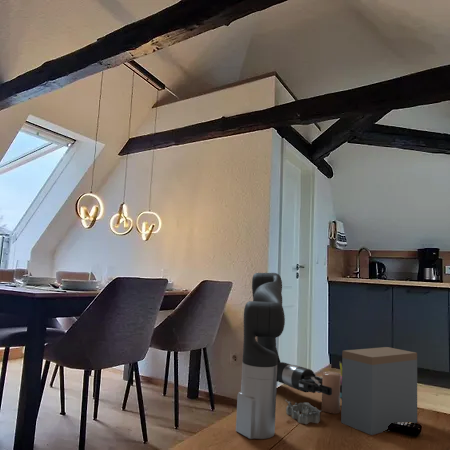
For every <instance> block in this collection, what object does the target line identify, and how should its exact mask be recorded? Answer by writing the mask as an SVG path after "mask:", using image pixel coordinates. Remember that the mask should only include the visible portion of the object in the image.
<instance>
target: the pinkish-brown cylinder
mask: <svg viewBox="0 0 450 450" xmlns="http://www.w3.org/2000/svg"><path fill="white" fill-rule="evenodd" d="M321 378H322V385H324V386H327V387H330V388H332V395H327V394H324V393H321V411H323V412H325V413H329V414H339V413H341V398H340V379H341V373H339V372H335V371H322V377H321Z"/></svg>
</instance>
